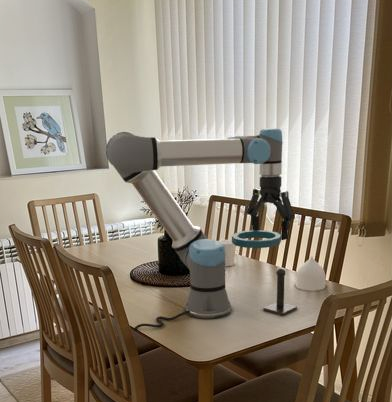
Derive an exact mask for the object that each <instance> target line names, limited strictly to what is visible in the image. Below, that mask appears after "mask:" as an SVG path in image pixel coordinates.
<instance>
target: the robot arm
mask: <svg viewBox="0 0 392 402" xmlns="http://www.w3.org/2000/svg"><path fill="white" fill-rule="evenodd" d="M283 143H284V142H283V131H282V130H281V129H280V128H261V129H260V130H259V134H258V135H241V136H240V135H239V136H238V135H234V136H228V137H227V138H212V139H211V138H210V139H205V138H204V139H174V140H173V139H172V140H169V139H168V140H159V139H158V138H157V137H155V136H153V137H152V136H151V137H149V136H147V137H146V136H139V135H136V134H133V133H131V132H128V131H121V132H117V133H116V134H114V135H112V136H111V137H110V138H109V140H108V142H107V143H106V147H105V155H106V159H107V161H108V162H109V163H110V165H111V166H113V168H114V169H115V171H116V172H117V173H118V175H119V176H120V177H121V179H122V180H123V181H124V183H127V184H130V185H131V184H132V186H133V187H134V189H135V190H136V191H137V193H138V194H139V196H140V197H141V199H142V200H143V202H144V203H145V204H146V206H147V207H148V208H149V209H150V211H151V212H152V214H153V215H154V216H155V218H156V219H157V221H158V222H159V223H160V224H161V226H162V227H163V229H164V230H165V231H166V234H167V235H168V236H169V237H170V238H171V240H172V244H171V248H173V250H174V251H175V253H176V254H177V256H178V257H179V259H180V261H181V262H182V263H183V264H184V265H185V266H186V268H187V269H188V270H189V284H190V289H189V294H188V297H187V302H186V304H185V311H183V312H180V313H177V314H176V315H174V316H171V317H166V316H162V315H161V316H157V317H156V318H155V320H156V322H157V323H158V324H152V323H139V324H137V325H135V327H133V329H132V331H137V330H138V329H139V328H141V327H149V328H161V327H163V326H164V322H163V321H162V320H165V321H173V320H176V319H177V318H180V317H182V316H184V315H185V316H186V315H188V316H190V317H192V318H196V319H202V320H203V319H205V320H210V319H219V318H222V317H226V316H228V315H230V313H231V312H232V305H231V301H230V300H229V296H228V292H227V288H226V266H225V257H226V255H225V254H226V253H225V248H224V245H223V244H222V243H221V242H219V241H220V240H215V239H211V238H208V237H207V236H206V235H205V233H204V232H203V230H202V228H201V227H200V226H199V225H198V226H197V225H193V223H192V222H191V220H190V218H188V216H187V214H186V213H185V212H184V211H183V209H182V208H181V206H180V204H179V203H178V202H177V200H176V199H175V197H174V196H173V194H172V193H171V192H170V190H169V188H168V187H167V186H166V185H165V183H164V182H163V180H162V179H161V178H160V177H161V176H159V175H158V173H157V172H156V171H158V170H159V169H160V168H161V167H180V166H181V167H183V166H185V167H186V166H205V165H206V166H207V165H208V166H209V165H232V164H254V165H259V175H260V176H259V187H260V188H259V187H258V188H252V195H251V199H250V202H249V204H248V207H247V210H246V215H250V225H251V226H252V230H260V216H259V213H260V211H261V210H262V209H263V207H264V206H265V204H267V203H269V204H273V205H274V206H275V208H276V210H277V211H278V213H279V214H280V217H281V219H282V221H281V227H280V228H281V229H280V230H281V231H280V235H281V241H285V240H288V239H289V237H288V236H289V231H290V229H291V228H290V226H291V225H290V224H291V221H292V220H295V219H296V216H295V213H294V209H293V207H292V203H291V200H290V197H289V195H290V193H289V191H288V190H286V191H281V188H282V178H283V177H282V176H281V175H282V169H283V167H282V165H283V161H282V159H283Z"/></svg>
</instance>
